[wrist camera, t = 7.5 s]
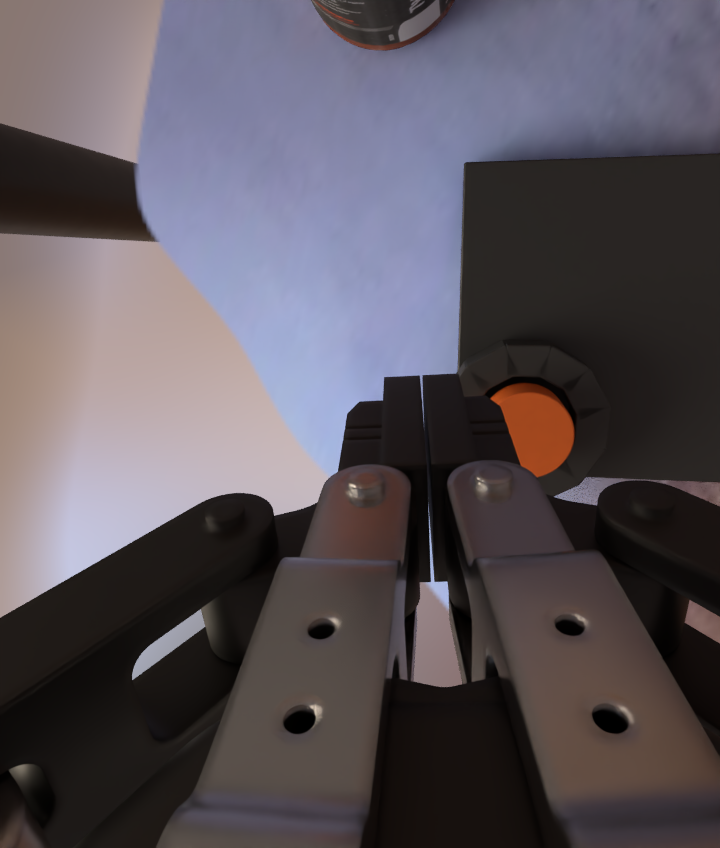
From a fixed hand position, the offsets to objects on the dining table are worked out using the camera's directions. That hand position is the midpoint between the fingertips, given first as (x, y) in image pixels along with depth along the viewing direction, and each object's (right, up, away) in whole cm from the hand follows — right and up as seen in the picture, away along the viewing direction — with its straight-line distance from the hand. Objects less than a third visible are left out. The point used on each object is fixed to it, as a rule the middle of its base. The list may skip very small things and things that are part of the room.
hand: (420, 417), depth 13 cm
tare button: (+5, 0, +11) cm, 12 cm away
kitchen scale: (+10, +4, +12) cm, 16 cm away
